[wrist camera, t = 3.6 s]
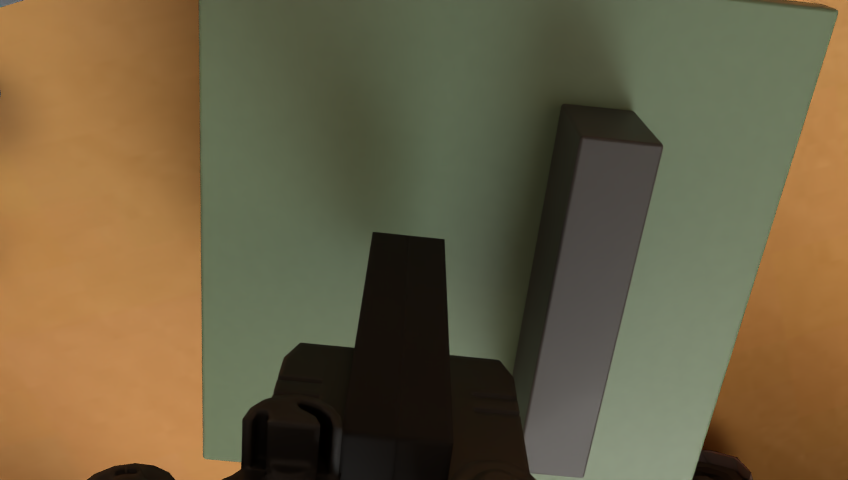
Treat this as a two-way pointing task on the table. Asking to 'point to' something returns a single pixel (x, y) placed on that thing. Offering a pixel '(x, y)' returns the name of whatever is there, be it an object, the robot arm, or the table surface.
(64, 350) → the table surface
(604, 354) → the sliding lid
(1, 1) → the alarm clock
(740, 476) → the camera
